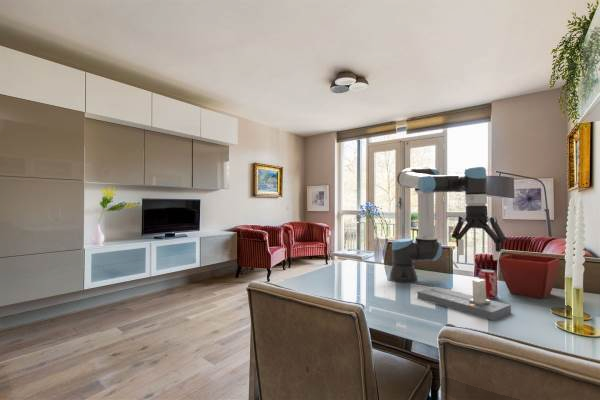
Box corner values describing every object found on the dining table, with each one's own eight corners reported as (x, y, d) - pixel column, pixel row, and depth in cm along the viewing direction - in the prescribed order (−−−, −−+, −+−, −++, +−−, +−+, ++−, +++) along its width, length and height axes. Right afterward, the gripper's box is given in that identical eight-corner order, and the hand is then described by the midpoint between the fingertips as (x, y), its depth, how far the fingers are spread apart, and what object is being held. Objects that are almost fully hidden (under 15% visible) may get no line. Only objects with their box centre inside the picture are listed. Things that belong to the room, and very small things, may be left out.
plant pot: (513, 285, 150) (511, 253, 150) (561, 294, 135) (559, 257, 135) (498, 292, 139) (497, 257, 139) (549, 302, 123) (548, 263, 124)
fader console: (436, 292, 140) (435, 286, 140) (510, 312, 113) (510, 304, 113) (417, 297, 133) (417, 290, 133) (492, 320, 105) (492, 311, 106)
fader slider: (477, 299, 120) (476, 277, 120) (490, 302, 115) (489, 280, 116) (469, 302, 117) (468, 279, 117) (482, 305, 112) (481, 282, 113)
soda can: (499, 296, 133) (498, 270, 133) (496, 300, 128) (495, 273, 128) (481, 293, 138) (480, 268, 138) (477, 297, 133) (477, 270, 133)
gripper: (442, 205, 126) (443, 253, 126) (506, 205, 104) (508, 263, 104) (452, 205, 130) (453, 252, 129) (515, 204, 108) (517, 260, 108)
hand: (477, 257), depth 117 cm, fingers open, 13 cm apart
